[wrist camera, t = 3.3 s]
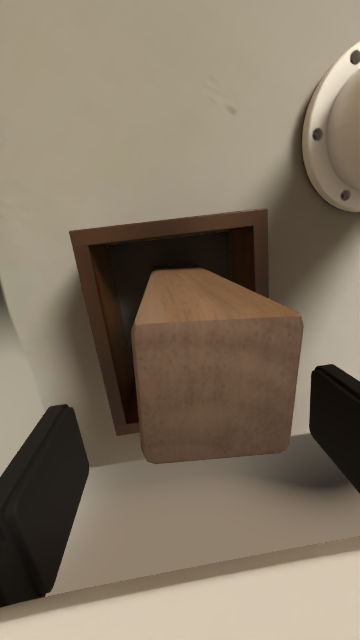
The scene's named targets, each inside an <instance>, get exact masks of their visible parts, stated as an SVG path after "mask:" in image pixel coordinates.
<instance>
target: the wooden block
mask: <svg viewBox="0 0 360 640" xmlns="http://www.w3.org/2000/svg"><path fill="white" fill-rule="evenodd" d="M302 334H303V322H302V318H301V316H300V314H299V313H298V312H296V311H294V310H292V309H290V308H287V307H285V306H283V305H281V304H279V303H277V302H275V301H272V300H270V299H268V298H266V297H264V296H262V295H259V294H257V293H255V292H253V291H251V290H249V289H247V288H244V287H242V286H240V285H238V284H236V283H234V282H231V281H229V280H227V279H225V278H223V277H221V276H219V275H217V274H214V273H212V272H210V271H208V270H206V269H204V268H201V267H199V266H197V265H188V266H159V267H154V268H153V270H152V272H151V275H150V278H149V281H148V284H147V287H146V290H145V293H144V296H143V298H142V301H141V304H140V307H139V310H138V313H137V316H136V318H135V321H134V324H133V327H132V330H131V338H132V349H133V360H134V372H135V383H136V394H137V405H138V416H139V427H140V438H141V449H142V451H143V454H144V456H145V458H146V460H147V462H150V463H154V464H161V463H173V462H183V461H194V460H206V459H217V458H229V457H240V456H252V455H263V454H274V453H280V452H282V451H284V450H286V449H287V447H288V446H289V443H290V435H291V426H292V418H293V409H294V401H295V393H296V384H297V376H298V368H299V359H300V351H301V343H302Z"/></svg>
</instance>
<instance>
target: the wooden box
mask: <svg viewBox="0 0 360 640" xmlns="http://www.w3.org/2000/svg"><path fill="white" fill-rule="evenodd" d="M224 231H228V243H229V261H230V279H231V282H234V283H236V284H238V285H240V286H242V287H244V288H247V289H249V290H251V291H253V292H255V293H257V294H259V295H262V296H264V297H266V298H268V299H269V287H268V209H267V208H263V209H254V210H246V211H237V212H228V213H220V214H211V215H203V216H194V217H185V218H177V219H168V220H160V221H151V222H143V223H134V224H125V225H117V226H108V227H100V228H91V229H82V230H74V231H69V234H70V238H71V242H72V246H73V251H74V255H75V260H76V264H77V268H78V272H79V277H80V281H81V285H82V290H83V294H84V298H85V302H86V307H87V311H88V315H89V320H90V324H91V328H92V333H93V337H94V341H95V345H96V350H97V354H98V358H99V363H100V367H101V371H102V375H103V380H104V384H105V388H106V393H107V397H108V401H109V405H110V410H111V414H112V418H113V423H114V427H115V431H116V435H117V436H120V435H126V434H133V433H139V432H140V427H139V416H138V405H137V394H136V383H135V382H134V379H133V373H132V368H131V363H130V358H129V353H128V347H127V342H126V337H125V332H124V327H123V321H122V316H121V311H120V306H119V301H118V296H117V290H116V285H115V280H114V275H113V270H112V264H111V259H110V254H109V249H108V246H107V245H115V244H123V243H132V242H140V241H149V240H157V239H165V238H174V237H182V236H190V235H199V234H207V233H216V232H224Z"/></svg>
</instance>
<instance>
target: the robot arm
mask: <svg viewBox="0 0 360 640" xmlns="http://www.w3.org/2000/svg"><path fill="white" fill-rule="evenodd" d="M302 151H303V160H304V164H305V168H306V171H307V175H308V177H309V179H310V181H311V183H312V185H313V187H314V188H315V189H316V191H317V192H318V193H319V194H320V196H321V197H322V198H323V199H325V200H326V201H327V202H328V203H330V204H331V205H333V206H335V207H337V208H339V209H341V210H345V211H350V212H360V41H359V42H358V43H356V44H355V45H354V46H352V47H351V48H350V49H348V50H347V51H346V52H345V53H344V54H343V55H342V56H341V57H340V58H339V59H338V60H337V61H336V62H335V63H334V64H333V65H332V67H331V68H330V69H329V70H328V72H327V73H326V74H325V75H324V77H323V78H322V79H321V81H320V83H319V85H318V86H317V88H316V90H315V92H314V93H313V96H312V98H311V101H310V104H309V106H308V109H307V112H306V116H305V121H304V125H303V135H302ZM309 429H310V432H311V435H312V436H313V438H314V439H315V440H316V441H317V443H318V444H319V445H320V446H321V447H322V449H323V450H324V451H325V452H326V453H327V455H328V456H329V457H330V458H331V459H332V460H333V462H334V463H335V464H336V465H337V467H338V468H339V469H340V470H341V471H342V473H343V474H344V475H345V476H346V478H347V479H348V480H349V481H350V482H351V484H352V485H353V486H354V487H355V488H356V489H357V491H358V492H359V493H360V381H358V380H356V379H355V378H353V377H352V376H350V375H349V374H347V373H346V372H344V371H343V370H341V369H340V368H338V367H336V366H335V365H333V364H329V365H322V366H317V367H316V368H315V370H314V371H312V373H311V394H310V420H309ZM88 474H89V462H88V458H87V455H86V451H85V448H84V444H83V441H82V437H81V433H80V430H79V426H78V423H77V419H76V416H75V412H74V409H73V408H72V407H69V406H68V405H67V404H63V405H56V406H51V407H49V408H48V409H47V411H46V412H45V414H44V415H43V417H42V418H41V419H40V421H39V422H38V424H37V425H36V427H35V428H34V429H33V431H32V432H31V434H30V435H29V437H28V438H27V439H26V441H25V443H24V444H23V445H22V447H21V448H20V450H19V451H18V452H17V454H16V455H15V457H14V458H13V460H12V461H11V462H10V464H9V465H8V467H7V468H6V470H5V471H4V473H3V474H2V475H1V477H0V640H360V536H358V537H353V538H347V539H341V540H336V541H330V542H325V543H319V544H314V545H308V546H303V547H298V548H292V549H287V550H282V551H276V552H271V553H266V554H260V555H255V556H250V557H244V558H239V559H234V560H229V561H223V562H218V563H213V564H208V565H202V566H197V567H192V568H186V569H181V570H176V571H171V572H166V573H161V574H156V575H151V576H145V577H140V578H136V579H131V580H125V581H120V582H115V583H110V584H105V585H100V586H94V587H89V588H85V589H80V590H75V591H71V592H66V593H62V594H57V595H52V596H48V597H45V595H46V593H49V592H50V591H51V590H52V588H53V586H54V583H55V580H56V577H57V573H58V570H59V567H60V564H61V561H62V557H63V554H64V551H65V548H66V544H67V541H68V538H69V535H70V532H71V528H72V525H73V522H74V519H75V516H76V512H77V509H78V506H79V503H80V500H81V496H82V493H83V490H84V487H85V483H86V480H87V477H88Z"/></svg>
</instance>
